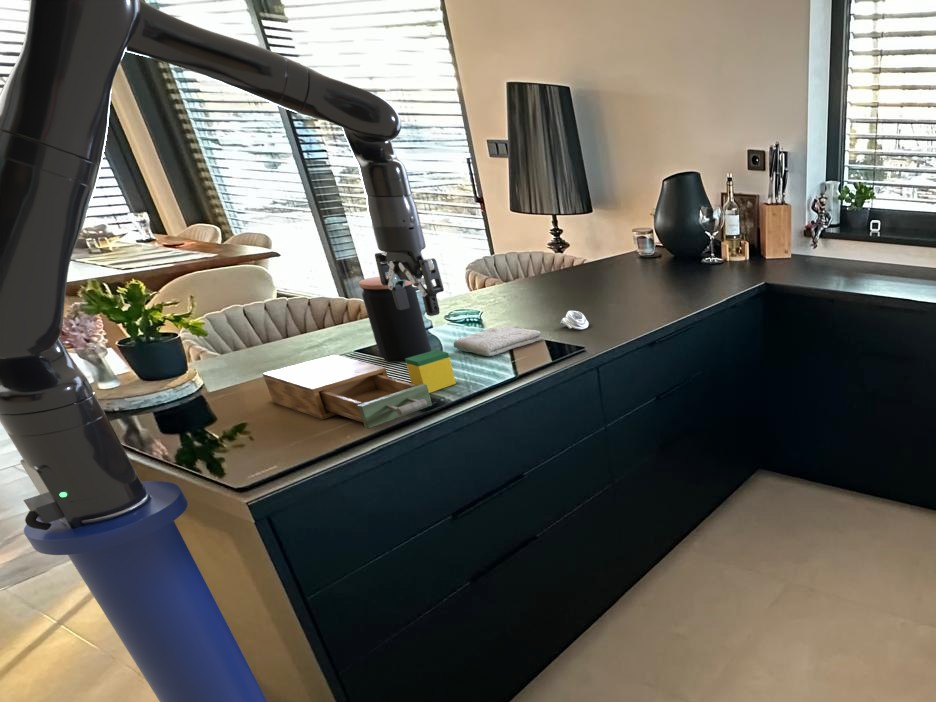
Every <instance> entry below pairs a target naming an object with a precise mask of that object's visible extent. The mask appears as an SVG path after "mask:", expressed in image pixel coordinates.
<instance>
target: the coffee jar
mask: <svg viewBox="0 0 936 702" xmlns="http://www.w3.org/2000/svg"><path fill="white" fill-rule="evenodd" d="M387 278H388V277H387ZM358 285H359V287H360V288H361V289H362V292H361V296H362V301H363V303H364V308H365V310H366V314H367V318H368V321H369V324H370V328H371V331H372V334H373V338H374V340H375V341H374V342H375V344H376V347H377V352H378V354H379V356H380V358H382V359H383V360H384V361H386V362H389V363H406V361H405V359H406V358H409V357H413V356H416V355H419V354H423V353H426V352H430V351H432V350H431V343H430V340H429V337H428V333H427V329H426V325H425V321H424V317H423V313H422V309H421V305H420V301H419V297H418V293H417V290H416V287H415V286H414V285H413V284H412V283H411V281H407V280H406V282H405V286H404V288H403V289H405V290H406V294H407V298H408V301H409V305H410V307H409V308H408V309H404V310H398V309H397V308H396V304H395V300H394V297H393V293H392V290H390V289H389V288H388V286H387V285H385V286H384V285H382V283H381V280H380V276H373V277H368V278H364V279H361V280H359V281H358Z"/></svg>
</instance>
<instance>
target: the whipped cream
mask: <svg viewBox="0 0 936 702" xmlns="http://www.w3.org/2000/svg"><path fill="white" fill-rule="evenodd" d="M559 326H560V327H561V328H564V327H567V328H568V329H570V330H571V329H572V328H573V329H574V330H575V329H576V330H585V329H588V327H589V321H588V320H587V317H586V316H585V315H584V313H582V312H581V311H577V310H568V311H567V312H566V315H565V317H563V318H562V319H561V321H560V323H559Z"/></svg>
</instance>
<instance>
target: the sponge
mask: <svg viewBox="0 0 936 702" xmlns="http://www.w3.org/2000/svg"><path fill="white" fill-rule="evenodd" d="M405 361H406V362H405V365H406V369H407V372H408V376H409V380H410V383H412V384H415V386H417V385H420V384H426V385H427V387H428V391H429V394H430V393H434V392H436V391H439V390H441V389H445V388H448V387H450V386H453V385H456V384H457V382H456V378H455V374H454V370H453V369H454V368H453V365H452V362H451V357H450V353H449V352H446V351H443V350H440V349H433V350H430V352H426V353H423V354H419V355H416V356H413V357H409V358H406V359H405Z"/></svg>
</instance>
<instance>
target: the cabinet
mask: <svg viewBox="0 0 936 702" xmlns="http://www.w3.org/2000/svg"><path fill="white" fill-rule="evenodd" d="M376 374H379V375H383V376H386V377H389V375H388V373H387V369H386V367H384V366H381V365H376V364H373V363H369V362H365V361H362V360H357V359H354V358H350V357H346V356H344V355H339V354H332V355H329V356H325V357H321V358H316V359H313V360H309V361H305V362H301V363H298V364H297V363H296V364H294V365H290V366H289V365H288V366H286V367H282V368H278V369H274V370H269V371H267V372H263V373H262V376H263V379H264V382H265V384H266V387H267V389H268V392H269V395H270V397H271V400H272V402H273V403H274V404H276V405H280V406H283V407H285V408H289V409H292V410H295V411H297V412H299V413H303V414H306V415H309V416H312V417H315V418H317V419H321V420H326V419H329V418H331V417H335V416H337V415H339V414H336V413H333V412H330V411H327V410H325V409H324V406H323V404H322V401H321V398H320V395H319V391H322V390H326V389H329V388H332V387H336V386H339V385H342V384H346V383H349V382H352V381H356V380H359V379H363V378H366V377H369V376H373V375H376Z"/></svg>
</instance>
